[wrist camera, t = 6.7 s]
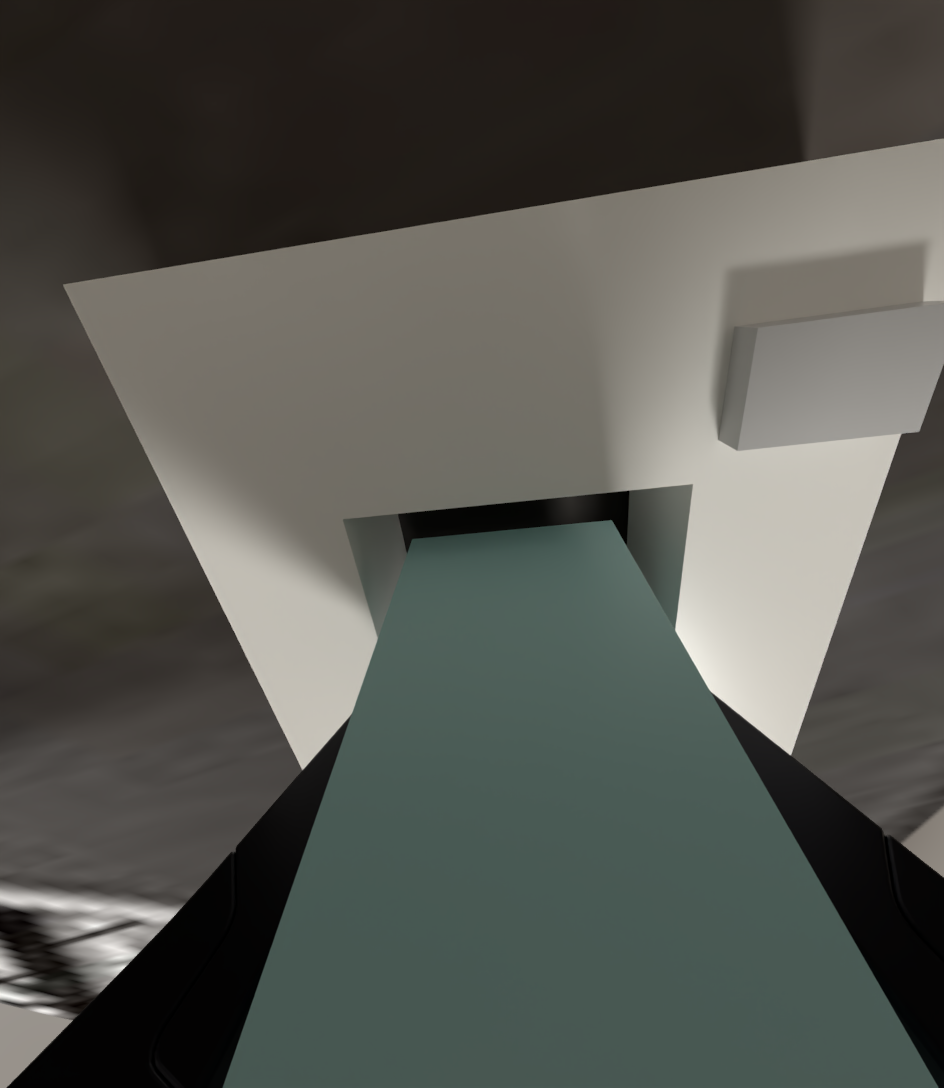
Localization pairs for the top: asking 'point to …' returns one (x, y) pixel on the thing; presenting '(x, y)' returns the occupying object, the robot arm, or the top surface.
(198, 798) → the top surface
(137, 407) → the socket plate
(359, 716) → the plug
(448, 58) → the top surface
